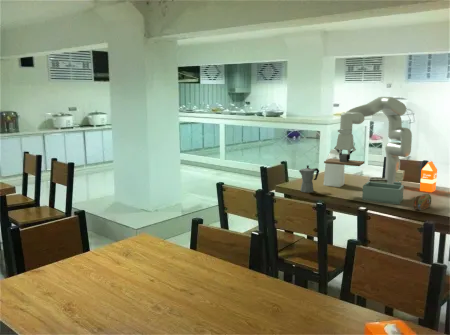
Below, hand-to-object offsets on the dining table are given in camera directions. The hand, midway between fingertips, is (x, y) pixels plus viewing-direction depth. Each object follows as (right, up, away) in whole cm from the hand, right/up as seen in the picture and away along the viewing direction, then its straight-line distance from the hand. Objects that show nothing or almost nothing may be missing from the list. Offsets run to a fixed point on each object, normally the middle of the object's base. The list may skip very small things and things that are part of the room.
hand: (344, 159), depth 273 cm
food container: (+25, -22, +10) cm, 35 cm away
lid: (0, -2, 0) cm, 2 cm away
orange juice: (+61, -21, +14) cm, 66 cm away
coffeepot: (-20, -22, +15) cm, 33 cm away
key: (+36, -13, 0) cm, 38 cm away
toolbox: (+23, -25, -7) cm, 35 cm away
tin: (+37, -30, -29) cm, 56 cm away
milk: (+2, -18, +34) cm, 38 cm away
